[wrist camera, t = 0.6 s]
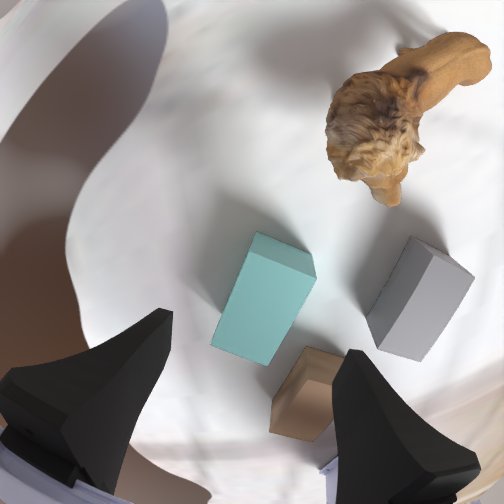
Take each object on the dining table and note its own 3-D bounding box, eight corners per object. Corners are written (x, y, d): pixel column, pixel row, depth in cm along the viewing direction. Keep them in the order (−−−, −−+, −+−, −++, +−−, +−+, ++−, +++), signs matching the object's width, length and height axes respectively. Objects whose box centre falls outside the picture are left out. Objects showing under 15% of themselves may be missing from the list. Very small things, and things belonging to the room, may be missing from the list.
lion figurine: (350, 196, 18) (397, 239, 10) (290, 137, 18) (293, 130, 9) (475, 66, 14) (554, 45, 5) (425, 11, 13) (487, -40, 4)
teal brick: (270, 332, 23) (267, 366, 19) (222, 313, 23) (210, 344, 19) (311, 253, 20) (316, 278, 16) (256, 230, 20) (249, 251, 16)
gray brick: (404, 331, 21) (420, 362, 18) (365, 317, 21) (377, 349, 18) (449, 255, 19) (475, 277, 15) (410, 235, 19) (433, 255, 15)
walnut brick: (311, 409, 25) (312, 442, 22) (272, 398, 25) (269, 432, 21) (349, 358, 23) (356, 392, 19) (306, 344, 23) (307, 379, 19)
